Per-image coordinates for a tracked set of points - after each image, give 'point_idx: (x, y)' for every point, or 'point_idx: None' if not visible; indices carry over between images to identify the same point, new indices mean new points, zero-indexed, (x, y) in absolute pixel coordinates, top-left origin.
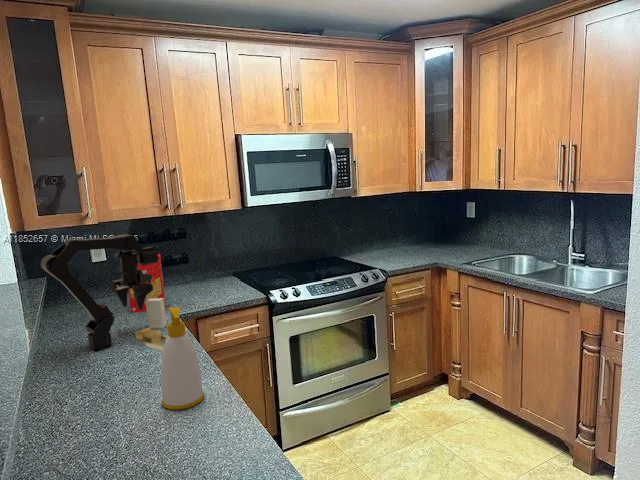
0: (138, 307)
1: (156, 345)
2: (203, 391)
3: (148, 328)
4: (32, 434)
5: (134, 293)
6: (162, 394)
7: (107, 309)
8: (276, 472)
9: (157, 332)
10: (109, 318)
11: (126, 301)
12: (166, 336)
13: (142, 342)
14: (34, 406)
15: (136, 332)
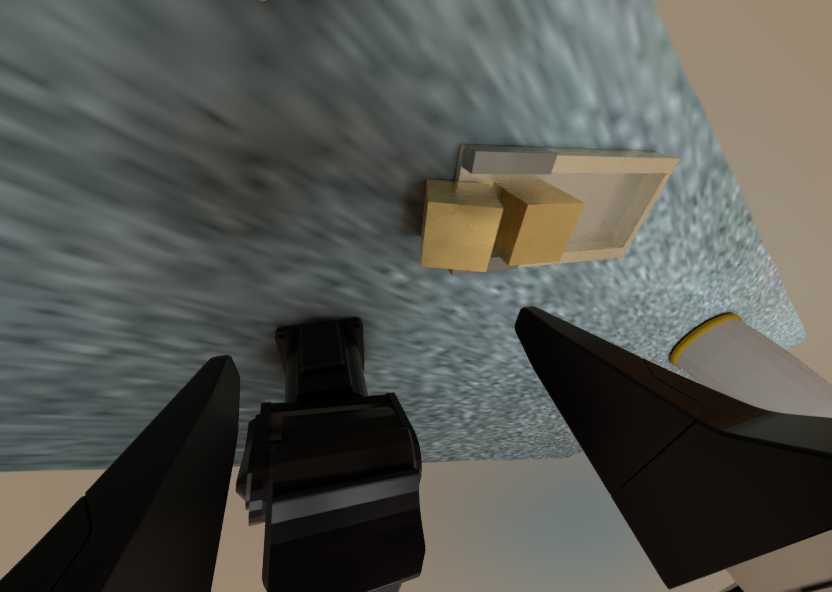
0: (534, 357)
1: (582, 260)
2: (741, 319)
3: (498, 220)
4: (534, 454)
5: (686, 582)
6: (689, 374)
7: (420, 535)
8: (793, 345)
9: (574, 221)
10: (417, 463)
11: (209, 416)
12: (582, 164)
13: (500, 268)
14: (478, 456)
15: (438, 266)
